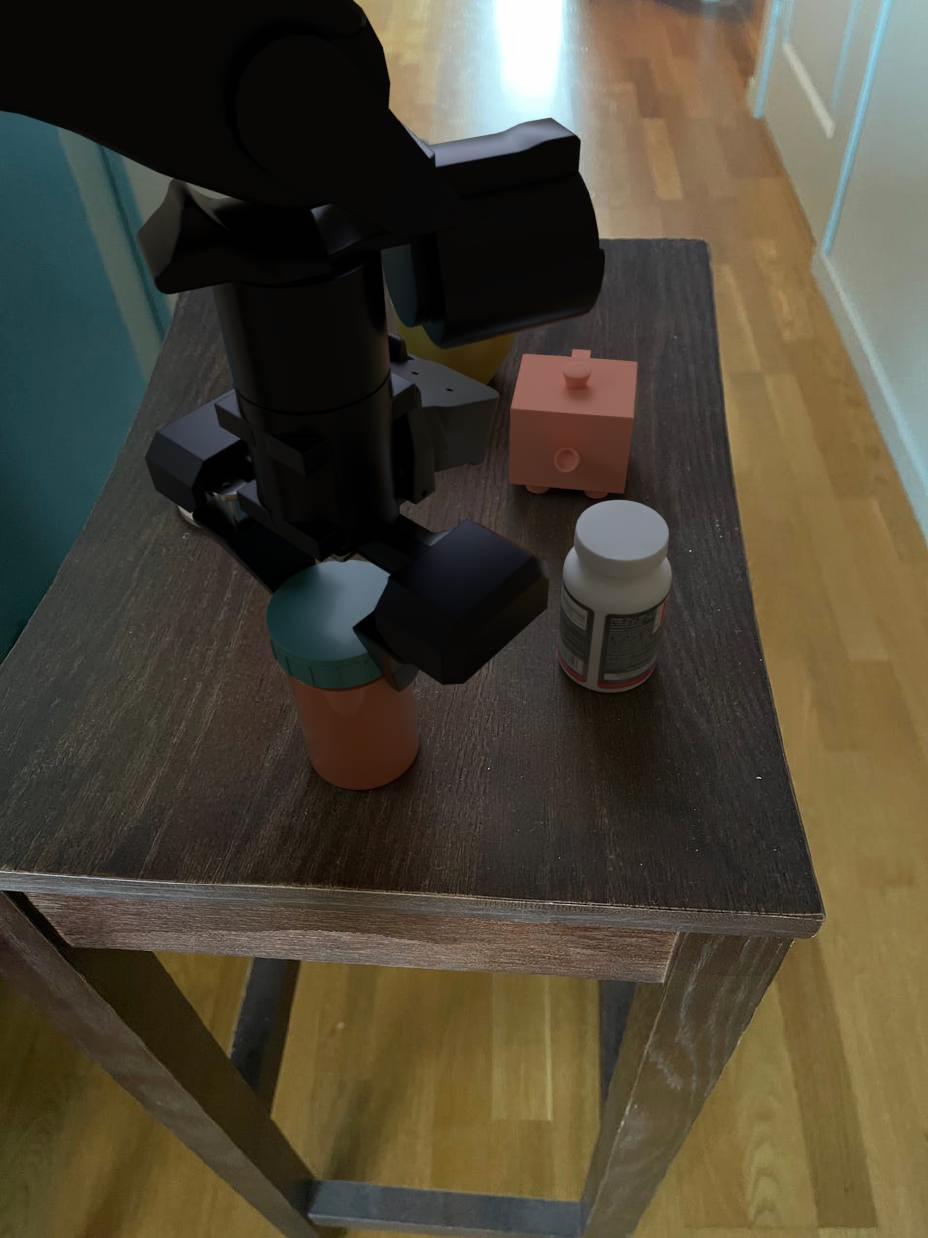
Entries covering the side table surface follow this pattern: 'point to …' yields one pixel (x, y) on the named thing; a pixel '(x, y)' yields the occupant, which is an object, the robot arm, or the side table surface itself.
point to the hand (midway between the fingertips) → (355, 650)
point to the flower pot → (458, 352)
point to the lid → (325, 623)
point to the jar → (358, 731)
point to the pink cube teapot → (572, 423)
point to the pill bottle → (614, 596)
